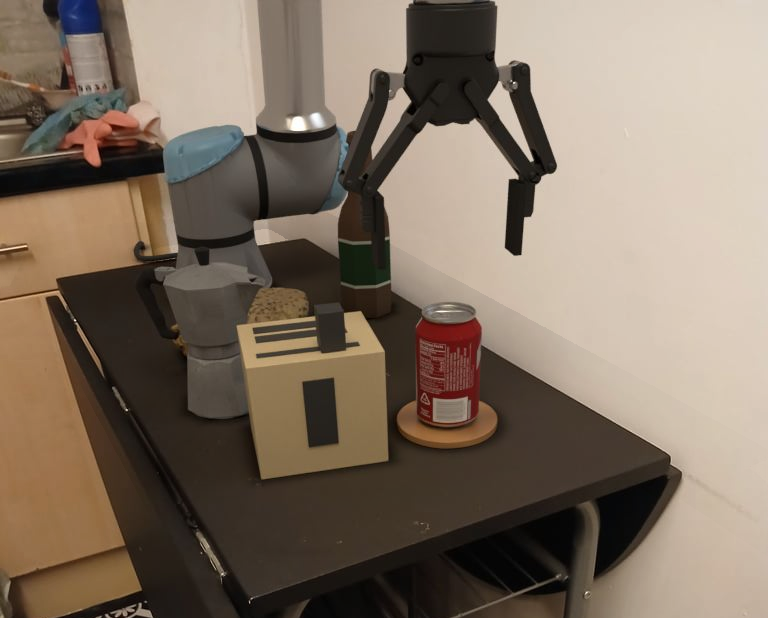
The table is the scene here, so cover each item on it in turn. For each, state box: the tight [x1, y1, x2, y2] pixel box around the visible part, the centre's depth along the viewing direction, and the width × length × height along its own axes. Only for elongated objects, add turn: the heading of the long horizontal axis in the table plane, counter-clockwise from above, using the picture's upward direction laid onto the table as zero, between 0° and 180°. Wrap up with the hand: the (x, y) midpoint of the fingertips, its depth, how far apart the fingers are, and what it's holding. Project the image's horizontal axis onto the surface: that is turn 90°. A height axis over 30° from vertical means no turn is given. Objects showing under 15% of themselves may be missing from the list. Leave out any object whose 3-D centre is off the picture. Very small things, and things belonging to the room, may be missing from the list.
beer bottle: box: [337, 129, 392, 319], centre depth 110 cm, size 8×8×24 cm
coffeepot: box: [134, 247, 265, 420], centre depth 88 cm, size 15×9×18 cm, turn 74°
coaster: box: [396, 399, 498, 450], centre depth 87 cm, size 11×11×1 cm
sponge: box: [170, 287, 310, 357], centre depth 105 cm, size 13×8×20 cm
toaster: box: [237, 311, 389, 481], centre depth 81 cm, size 11×13×12 cm
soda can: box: [414, 301, 483, 428], centre depth 83 cm, size 7×7×12 cm
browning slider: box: [313, 301, 346, 353], centre depth 74 cm, size 2×2×4 cm
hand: (446, 258), depth 77 cm, fingers open, 13 cm apart
